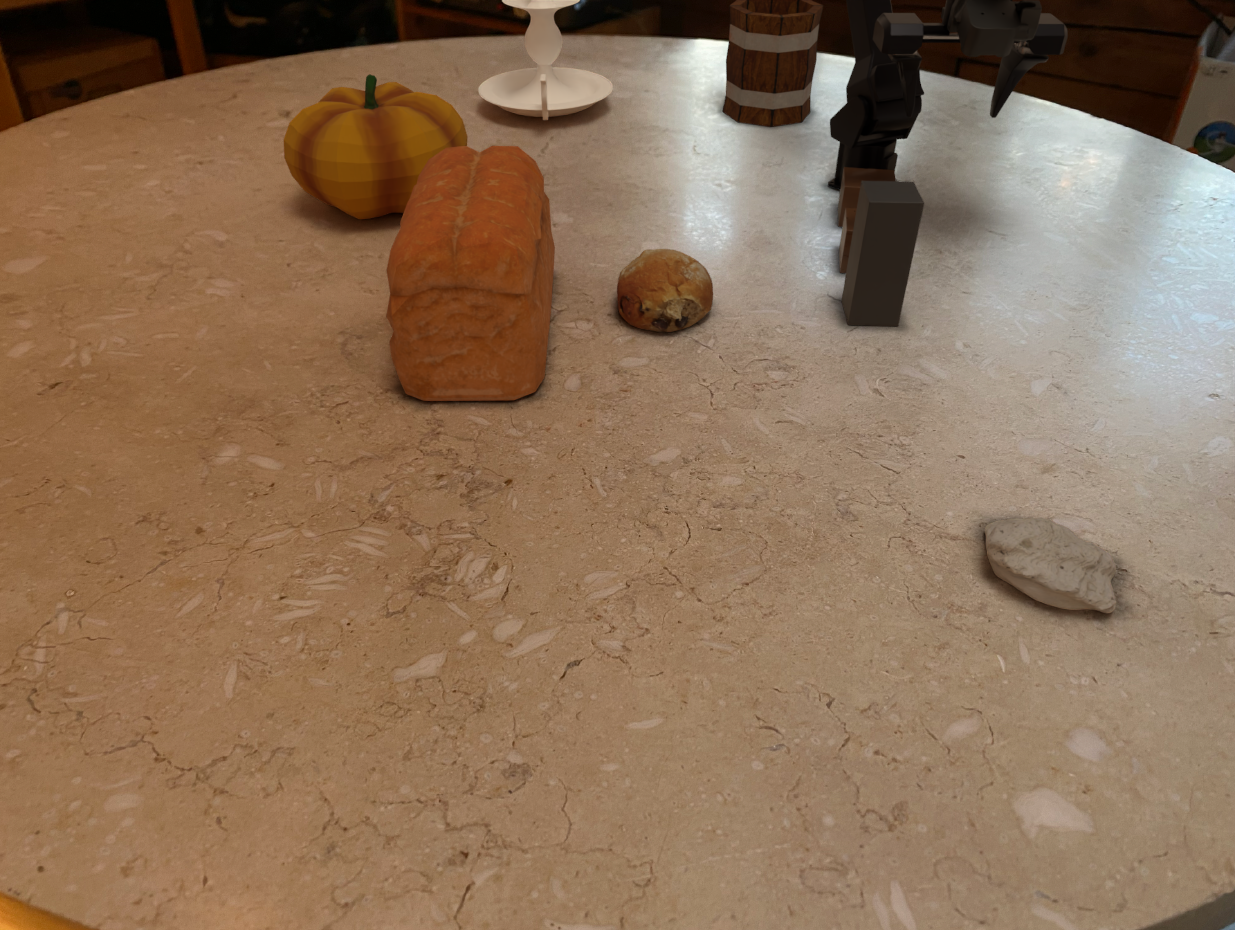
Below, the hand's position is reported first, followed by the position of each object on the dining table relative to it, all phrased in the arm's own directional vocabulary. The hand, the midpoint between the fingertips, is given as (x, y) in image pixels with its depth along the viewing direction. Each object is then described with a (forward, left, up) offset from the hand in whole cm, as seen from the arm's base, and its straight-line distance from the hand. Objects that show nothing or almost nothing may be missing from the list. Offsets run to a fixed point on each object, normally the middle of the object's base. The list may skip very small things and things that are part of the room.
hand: (950, 116), depth 104 cm
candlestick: (-63, +1, -13) cm, 64 cm away
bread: (-24, -50, -13) cm, 57 cm away
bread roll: (-12, -36, -13) cm, 40 cm away
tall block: (+5, -23, -13) cm, 27 cm away
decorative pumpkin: (-56, -36, -13) cm, 68 cm away
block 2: (-7, -3, -13) cm, 15 cm away
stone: (+32, -48, -13) cm, 59 cm away
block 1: (-1, -13, -13) cm, 18 cm away
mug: (-39, +25, -13) cm, 48 cm away
